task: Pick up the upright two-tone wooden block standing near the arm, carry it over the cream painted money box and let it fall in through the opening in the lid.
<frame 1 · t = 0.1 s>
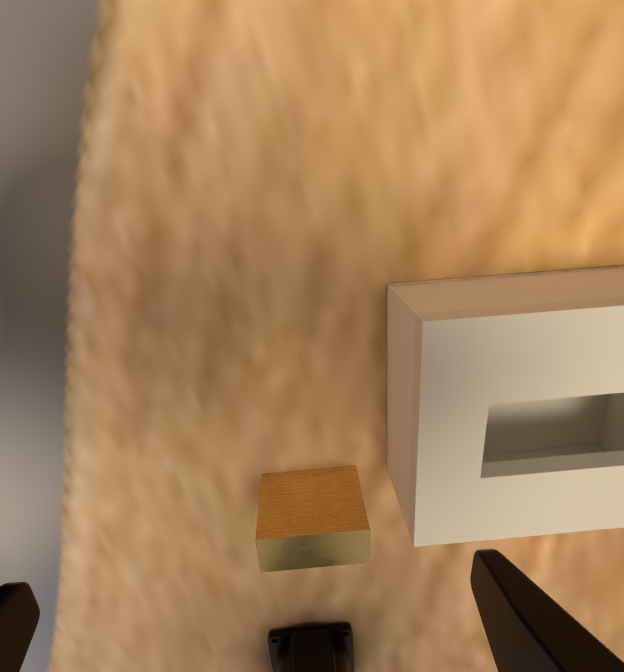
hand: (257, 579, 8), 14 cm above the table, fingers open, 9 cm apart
two-tone wooden block: (310, 483, 26), on the table
moneybox: (504, 373, 23), on the table
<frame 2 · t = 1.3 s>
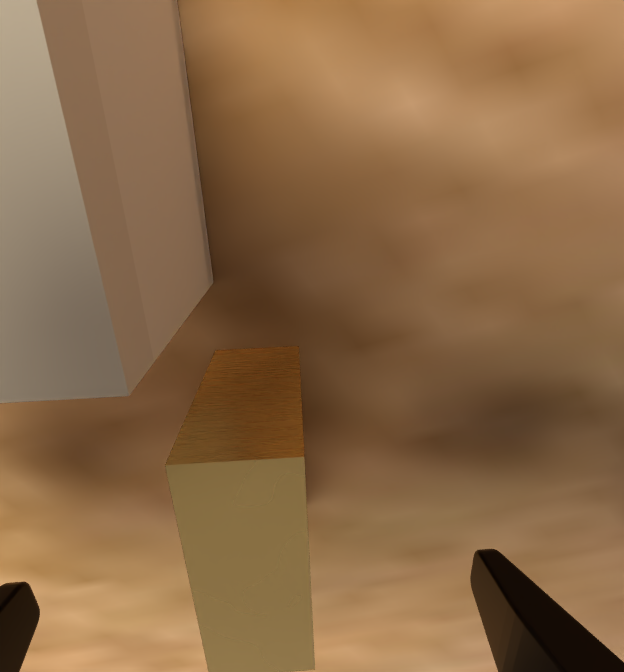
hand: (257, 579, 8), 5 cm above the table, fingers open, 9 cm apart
two-tone wooden block: (265, 433, 13), on the table
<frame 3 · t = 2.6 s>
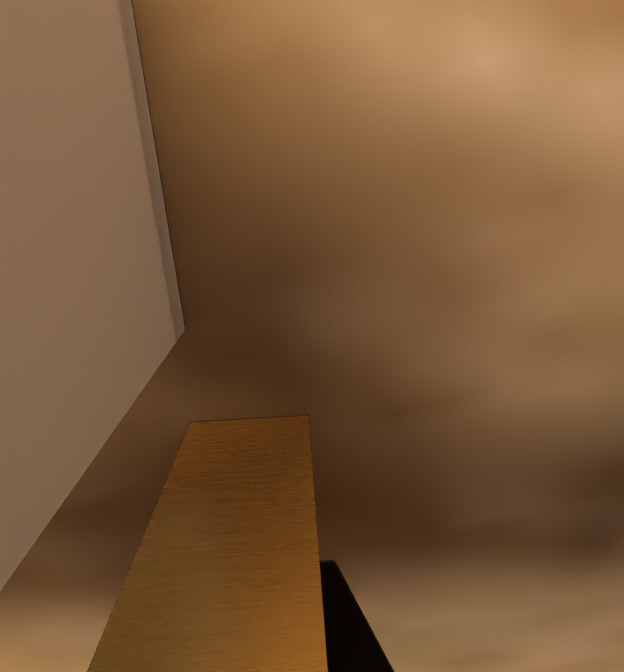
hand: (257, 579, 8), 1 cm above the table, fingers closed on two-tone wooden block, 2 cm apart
two-tone wooden block: (261, 528, 9), on the table, touching gripper
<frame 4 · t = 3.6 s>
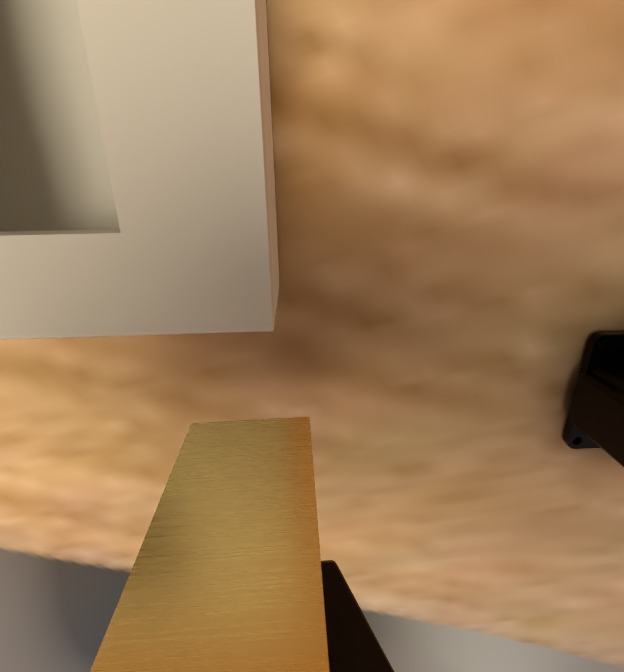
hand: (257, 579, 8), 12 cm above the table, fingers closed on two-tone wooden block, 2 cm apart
two-tone wooden block: (262, 529, 9), point 10 cm above the table, touching gripper
moneybox: (110, 105, 15), on the table
when the fingers open (7 cm above the table, at t = 5.1 s): two-tone wooden block drops 5 cm, resting on moneybox.
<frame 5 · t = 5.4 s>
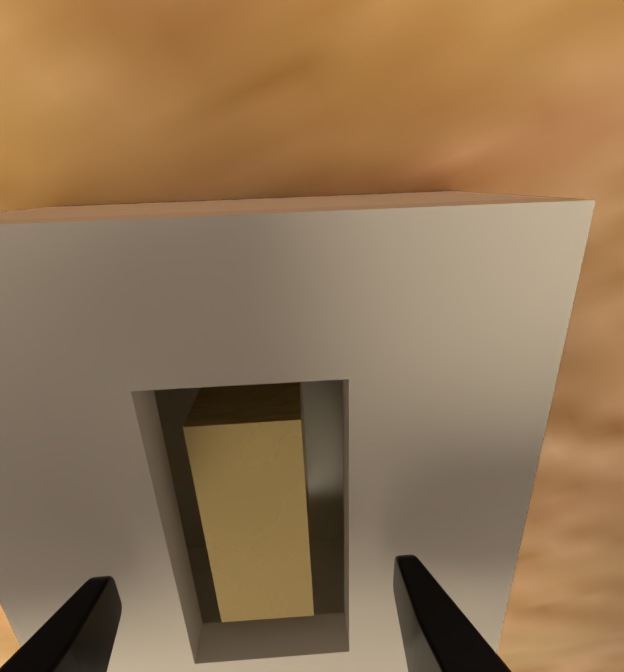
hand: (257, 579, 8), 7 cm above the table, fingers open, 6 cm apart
two-tone wooden block: (269, 413, 14), point 1 cm above the table, touching moneybox
moneybox: (271, 402, 14), on the table
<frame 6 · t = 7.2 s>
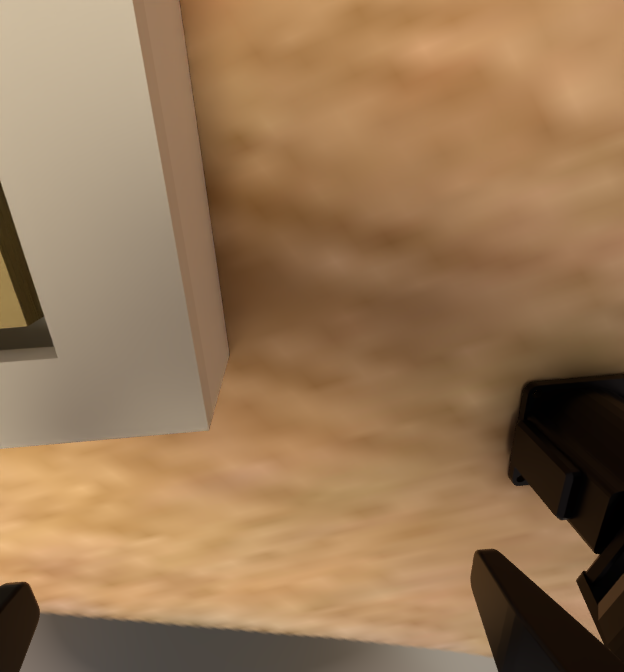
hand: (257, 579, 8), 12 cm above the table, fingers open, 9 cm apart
two-tone wooden block: (45, 210, 15), point 1 cm above the table, touching moneybox
moneybox: (54, 206, 16), on the table
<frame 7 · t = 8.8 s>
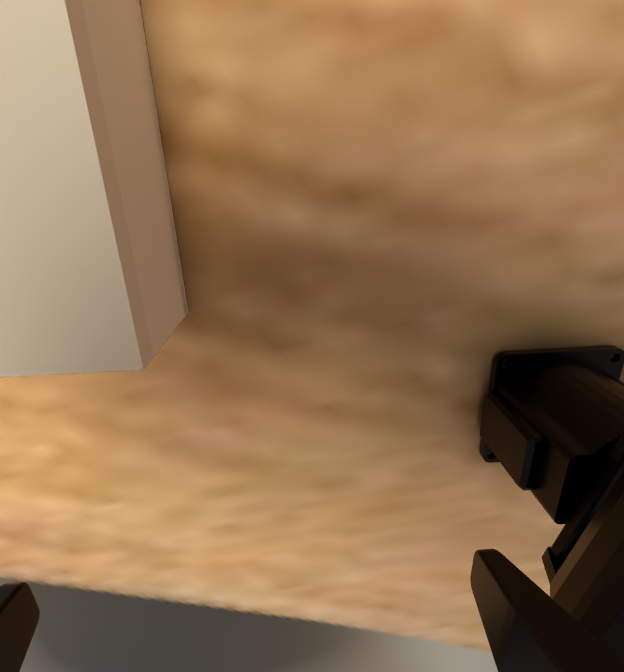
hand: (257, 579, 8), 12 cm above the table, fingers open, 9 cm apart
moneybox: (8, 150, 16), on the table
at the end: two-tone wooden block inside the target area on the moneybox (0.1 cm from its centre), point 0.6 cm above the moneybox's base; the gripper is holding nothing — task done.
